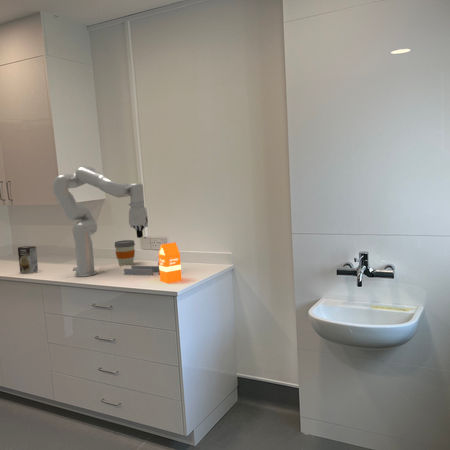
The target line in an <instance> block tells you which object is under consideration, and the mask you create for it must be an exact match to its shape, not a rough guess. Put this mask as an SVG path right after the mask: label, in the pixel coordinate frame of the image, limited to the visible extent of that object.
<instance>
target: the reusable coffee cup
mask: <svg viewBox="0 0 450 450" xmlns="http://www.w3.org/2000/svg"><path fill="white" fill-rule="evenodd" d="M135 245H136V244H135V240H132V239H125V240H124V239H123V240H116V241H115V242H114V248H115V256H116V259H117V262H118V266H119V267H123V266H134V262H135V261H134V257H135V250H136V249H135Z"/></svg>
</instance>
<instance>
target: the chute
mask: <svg viewBox="0 0 450 450" xmlns="http://www.w3.org/2000/svg"><path fill="white" fill-rule="evenodd" d="M130 266H131V267H130V268H123V275H126V276H127V275H128V276H131V275H132V276H154V273H159V269H158V265H130Z"/></svg>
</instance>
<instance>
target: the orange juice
mask: <svg viewBox="0 0 450 450" xmlns="http://www.w3.org/2000/svg"><path fill="white" fill-rule="evenodd" d="M179 250H180V249H179V247H178V245H177V244H176V242H170V243H162V244H161V245H160V248H159V252H158V262H159V270H160V275H159V279H160V280H159V281H160V283H161V282H162V283H165V284H171V283H176V282H180V281H181V282H182V280H183V279H182V265H181V264H182V263H181V253H180V251H179Z"/></svg>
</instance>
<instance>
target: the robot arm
mask: <svg viewBox="0 0 450 450" xmlns="http://www.w3.org/2000/svg"><path fill="white" fill-rule="evenodd" d="M85 184H87V185H90V186H92V187H95V188H97V189H99V190H100V191H101V192H104V193H105V194H108V195H110V196H113V197H115V198H119V199H120V198H125V197H129V199H130V203H128V206H129V211H128V225H129V227H130V228H133V229H134V230H135V232H136V237H137V239H141V238H143V231H144V229H145V228H148V223H149V221H148V220H149V219H148V212H147V208H146V206H145V196H144V186H143V184H142V183H139V182H137V183H117V182H116V181H113V180H110V179H108V178H107V177H106V175H105V174H104V173H102V172H100V171H99V172H98V171H97V170H96V169H94V167H93V166H84V165H83V166H79V167H77V168H76V169H75V172H73V173H64V174H59V175H57V176H56V177H55V178H54V180H53V182H52V191H53V194H54V196H55V197H56V199H57V200H58V202H59V205H60V206H61V208H62V210H63V212H64V214H65V216H66V217H67V218H68V220H70V221H72V222H73V221H77V222H75V224H73V227H72V235H73V239H74V245H75V256H76V267H75V266H74V267H73V269H72V271H73V272H75V273H74V275H75V277H79V278H81V277H90V276H95V275H97V274H98V271H97V270H95V259H94V258H95V257H94V248H93V241H92V239H91V236H92V235H95V234H96V233H97V230H98V224H97V222H96V220H95V217H94V216H93V215H92V212H91V210H90V209H89V208H88V206H87V205H85V204H84V203H78V202H77V200H76V199H75V197H74V195H73V193H71V192H70V190H69V189H76V188H78V187H81V186H83V185H85Z"/></svg>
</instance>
